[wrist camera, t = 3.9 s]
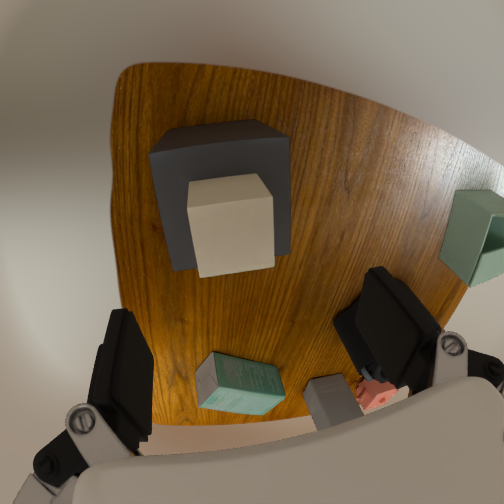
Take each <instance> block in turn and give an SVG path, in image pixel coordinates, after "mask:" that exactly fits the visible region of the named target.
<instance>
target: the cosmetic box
mask: <svg viewBox="0 0 504 504" xmlns="http://www.w3.org/2000/svg"><path fill="white" fill-rule="evenodd" d="M303 397H304V400H305V402H306V404H307V407H308V409H309V411H310V414H311V416H312V419H313V421H314V423H315V426H316V428H317V431H318V430H321V429H325V428H328V427H331V426H335V425H338V424H341V423H344V422H347V421H350V420H353V419H356V418H359V417H361V416H364V414H363V412H362V410H361V408H360V406H359V405H358V403H357V401H356V399H355V397H354V395H353V393H352V391H351V389H350V388H349V386H348V384H347V382H346V380H345V378H344V376H343V375H342V373H340V374H336V375H331V376H326V377H321V378H315V379H310V381H309V382H308V385H307V387H306V389H305V391H304V392H303Z"/></svg>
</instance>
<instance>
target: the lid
mask: <svg viewBox="0 0 504 504" xmlns="http://www.w3.org/2000/svg"><path fill="white" fill-rule="evenodd" d="M495 217H504V213H500V214H495Z"/></svg>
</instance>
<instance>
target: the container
mask: <svg viewBox="0 0 504 504" xmlns="http://www.w3.org/2000/svg"><path fill="white" fill-rule="evenodd" d="M500 213H504V198H503V197H501V196H500V195H498V194H496V193H495V192H493V191H491V190H462V191H455V196H454V201H453V205H452V210H451V214H450V218H449V222H448V226H447V230H446V234H445V237H444V241H443V244H442V248H441V251H440V254H439V259H441V260H442V261H443V262H444V263H445V264H446V265H447V266H448V267H449V268H450V269H451V270H452V271H453V272H454V273H455V274H456V275H457V276H458V277H459V278H460V279H461V280H462V281H463V282H464V283H465V284H466V285H469V284H470V285H469V287H473V286H475V285H478V284H480V283H483V282H485V281H487V280H490V279H492V278H494V277H497V276H499V275H501V274H503V272H504V217H495V214H500Z"/></svg>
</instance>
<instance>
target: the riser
mask: <svg viewBox="0 0 504 504" xmlns="http://www.w3.org/2000/svg"><path fill="white" fill-rule="evenodd" d="M149 160H150V166H151V171H152V177H153V182H154V187H155V192H156V197H157V202H158V207H159V212H160V216H161V221H162V226H163V230H164V234H165V239H166V243H167V247H168V251H169V255H170V259H171V263H172V267H173V271H180V270H187V269H193V268H198V265H197V260H196V255H195V250H194V245H193V240H192V234H191V229H190V223H189V217H188V212H187V201H188V189H189V182H192V181H198V180H205V179H213V178H220V177H228V176H236V175H245V174H254V173H257V175H258V176H259V178H260V179H261V180H262V182H263V183H264V185H265V186H266V188H267V189H268V191H269V192H270V193H271V195H272V196H273V216H274V256H281V255H287V254H290V232H291V186H290V137H289V136H287V135H285V134H283V133H281V132H279V131H277V130H275V129H273V128H271V127H269V126H267V125H265V124H263V123H261V122H259V121H257V120H255V119H253V120H241V121H230V122H220V123H212V124H204V125H196V126H189V127H183V128H177V129H171V130H168V131H167V132H166V133H165V134H164V135H163V137H162V138H161V139H160V140H159V141H158V143H157V144H156V145H155V146H154V148H153V149H152V150H151V151H150V153H149Z"/></svg>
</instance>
